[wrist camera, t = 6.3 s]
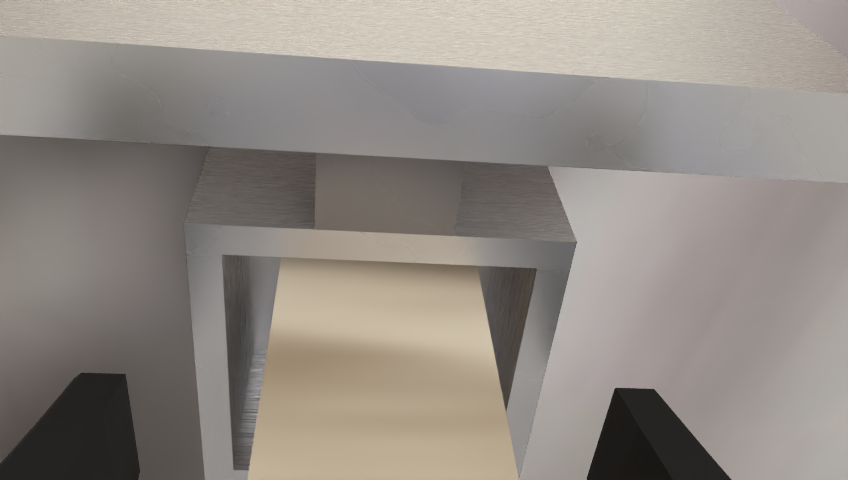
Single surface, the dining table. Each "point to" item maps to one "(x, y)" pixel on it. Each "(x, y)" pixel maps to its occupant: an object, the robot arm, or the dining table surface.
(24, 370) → the dining table surface
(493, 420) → the rail end
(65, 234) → the dining table surface
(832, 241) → the dining table surface
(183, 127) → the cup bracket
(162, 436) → the dining table surface
